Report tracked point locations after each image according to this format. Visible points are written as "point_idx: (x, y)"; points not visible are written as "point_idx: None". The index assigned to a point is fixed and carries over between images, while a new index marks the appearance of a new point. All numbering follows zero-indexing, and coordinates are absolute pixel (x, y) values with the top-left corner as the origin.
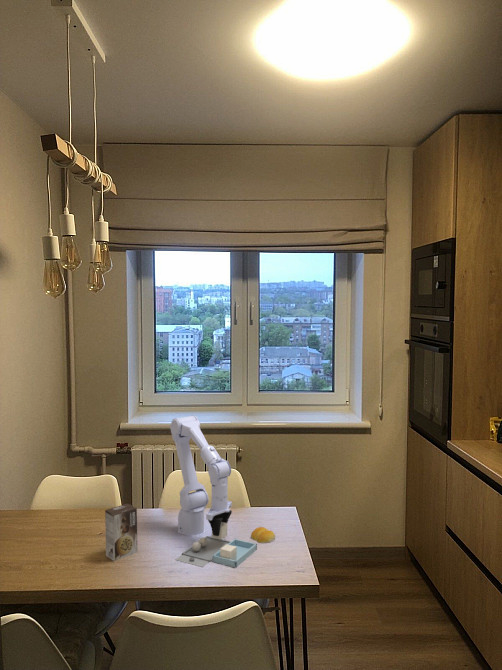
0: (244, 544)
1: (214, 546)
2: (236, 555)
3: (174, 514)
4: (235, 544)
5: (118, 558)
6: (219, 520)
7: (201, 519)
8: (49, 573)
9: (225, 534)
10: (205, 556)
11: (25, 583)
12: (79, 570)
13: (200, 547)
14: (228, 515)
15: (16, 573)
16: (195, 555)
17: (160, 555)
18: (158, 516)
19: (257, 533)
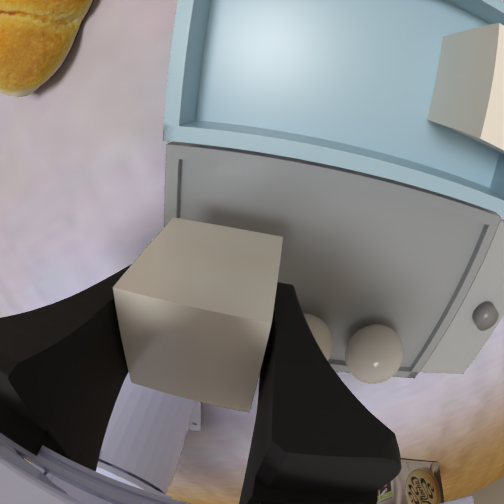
0: (197, 31)
1: None
2: (462, 32)
3: None
4: (194, 118)
5: (433, 466)
6: (397, 449)
7: (125, 424)
8: (466, 483)
9: (199, 231)
10: (435, 266)
11: (490, 479)
12: (466, 471)
13: (386, 332)
14: (41, 351)
15: (456, 497)
16: (425, 319)
17: (406, 419)
18: None
19: (29, 29)
